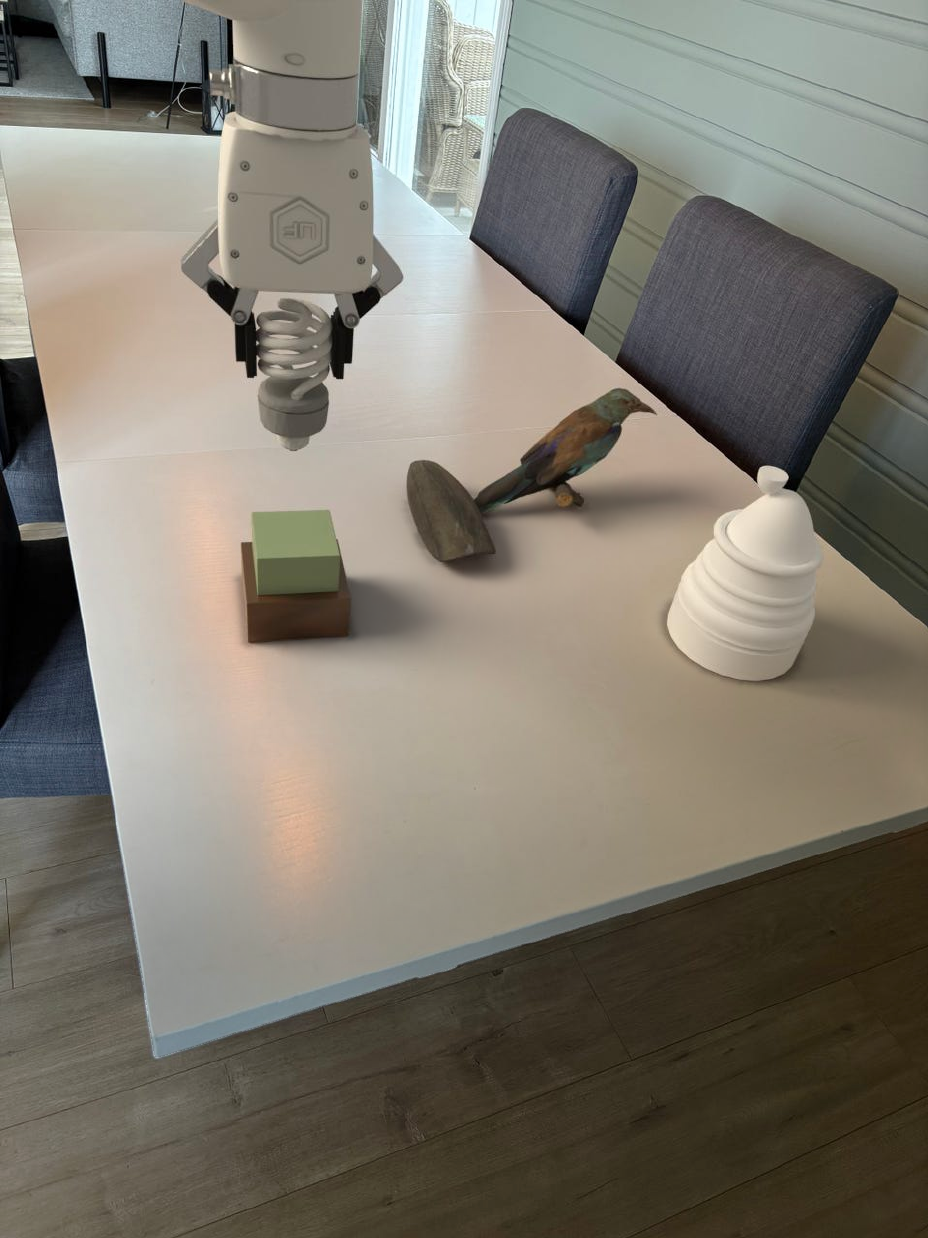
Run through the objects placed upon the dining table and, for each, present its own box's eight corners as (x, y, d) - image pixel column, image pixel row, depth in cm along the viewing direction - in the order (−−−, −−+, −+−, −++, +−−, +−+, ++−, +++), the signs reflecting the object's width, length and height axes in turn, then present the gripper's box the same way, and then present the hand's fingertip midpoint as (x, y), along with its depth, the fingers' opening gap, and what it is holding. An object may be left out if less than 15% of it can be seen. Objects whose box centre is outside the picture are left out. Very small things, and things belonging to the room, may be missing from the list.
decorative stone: (499, 571, 94) (505, 538, 91) (440, 578, 92) (444, 545, 89) (444, 481, 105) (448, 450, 103) (391, 486, 103) (393, 454, 101)
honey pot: (655, 653, 87) (712, 493, 75) (678, 580, 96) (732, 428, 85) (790, 698, 84) (870, 539, 73) (800, 618, 94) (872, 467, 82)
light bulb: (249, 435, 73) (246, 287, 66) (317, 429, 75) (321, 285, 68) (266, 472, 70) (264, 319, 62) (337, 464, 72) (344, 316, 64)
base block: (247, 642, 81) (246, 603, 78) (242, 579, 87) (240, 541, 84) (349, 636, 83) (351, 598, 80) (335, 575, 90) (337, 538, 87)
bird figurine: (492, 538, 96) (607, 377, 90) (450, 491, 103) (554, 337, 97) (569, 570, 106) (678, 426, 100) (526, 525, 112) (625, 387, 106)
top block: (257, 595, 79) (256, 558, 76) (252, 547, 84) (251, 511, 81) (338, 591, 81) (340, 555, 78) (328, 544, 86) (329, 509, 83)
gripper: (149, 100, 52) (173, 393, 63) (443, 126, 56) (416, 395, 68) (152, 72, 57) (173, 346, 69) (420, 98, 62) (398, 351, 73)
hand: (294, 368), depth 68 cm, fingers closed on light bulb, 5 cm apart
